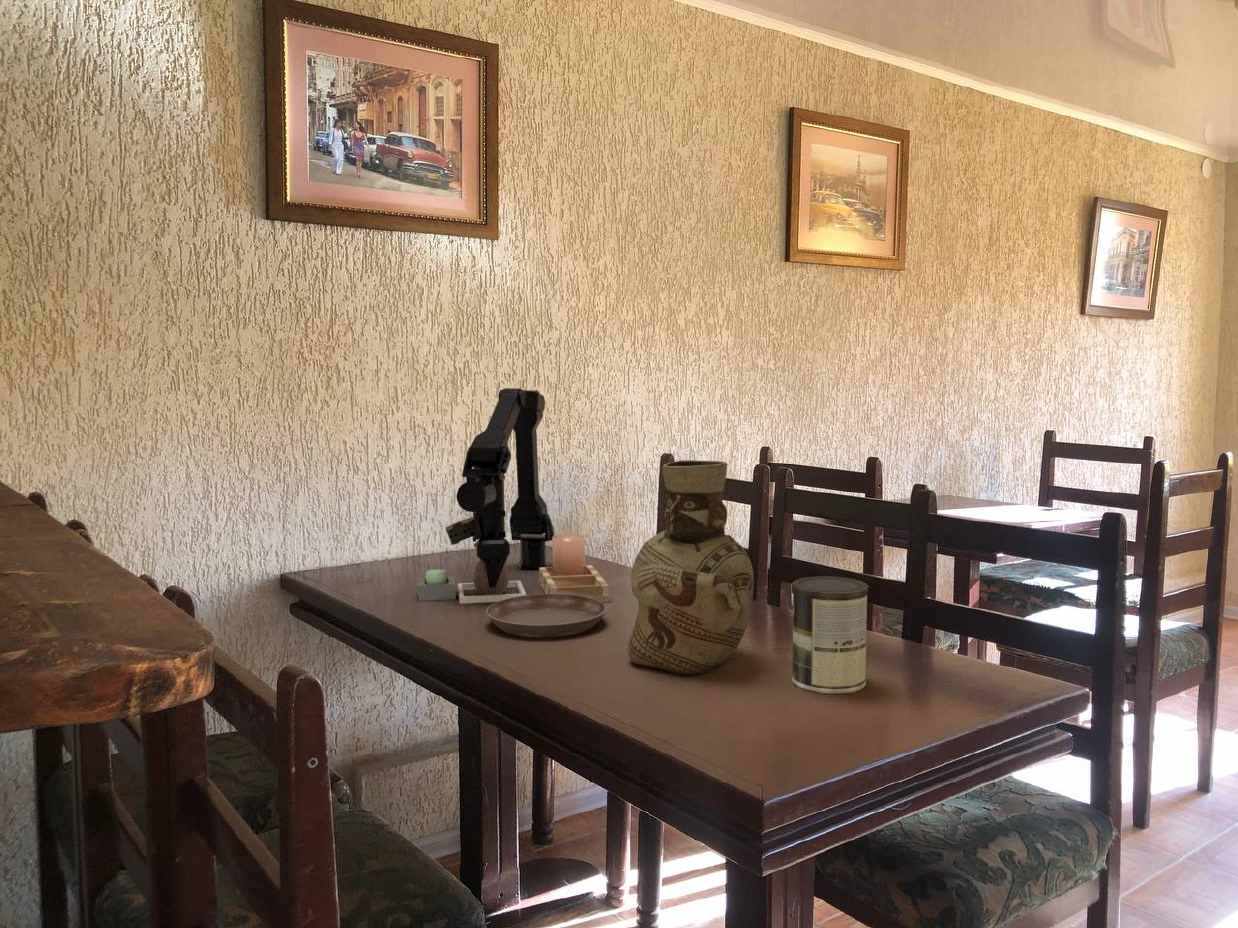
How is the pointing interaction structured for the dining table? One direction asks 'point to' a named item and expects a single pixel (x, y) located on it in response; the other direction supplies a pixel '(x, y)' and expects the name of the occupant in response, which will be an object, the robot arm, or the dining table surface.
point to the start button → (436, 576)
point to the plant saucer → (546, 615)
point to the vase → (482, 580)
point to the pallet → (575, 584)
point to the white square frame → (488, 598)
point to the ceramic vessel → (691, 578)
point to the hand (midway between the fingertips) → (491, 583)
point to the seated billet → (568, 555)
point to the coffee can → (829, 634)
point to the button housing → (436, 590)
